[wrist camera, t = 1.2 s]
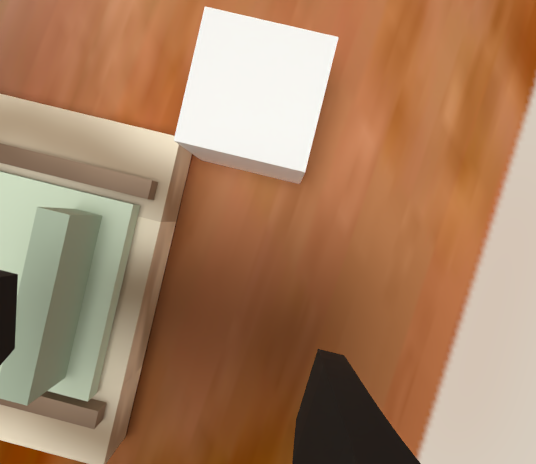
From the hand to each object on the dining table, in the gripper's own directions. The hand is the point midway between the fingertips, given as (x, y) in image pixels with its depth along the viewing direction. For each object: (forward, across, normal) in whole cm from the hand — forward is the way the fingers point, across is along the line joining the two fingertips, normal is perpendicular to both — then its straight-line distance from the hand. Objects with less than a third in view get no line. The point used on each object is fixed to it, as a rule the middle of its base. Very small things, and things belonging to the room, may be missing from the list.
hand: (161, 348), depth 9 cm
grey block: (+12, 0, -5) cm, 13 cm away
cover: (+7, +8, +4) cm, 12 cm away
